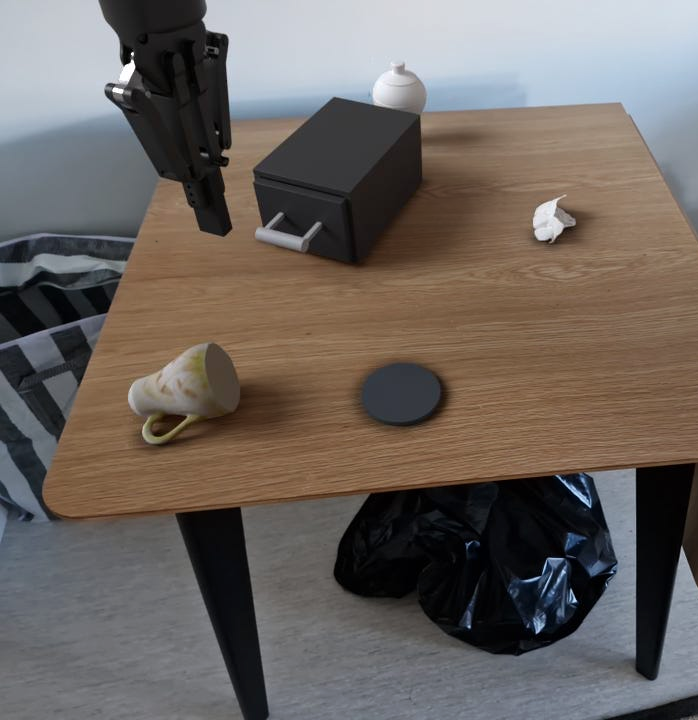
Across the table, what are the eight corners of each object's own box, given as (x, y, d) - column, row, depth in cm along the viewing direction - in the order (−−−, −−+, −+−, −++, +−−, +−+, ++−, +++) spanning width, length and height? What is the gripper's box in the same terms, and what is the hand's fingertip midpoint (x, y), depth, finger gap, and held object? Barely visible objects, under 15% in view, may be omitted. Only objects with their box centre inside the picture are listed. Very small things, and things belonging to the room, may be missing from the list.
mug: (134, 390, 73) (160, 310, 69) (229, 420, 76) (260, 346, 72) (109, 435, 67) (136, 350, 62) (214, 466, 70) (246, 388, 65)
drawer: (328, 287, 83) (318, 228, 77) (243, 264, 86) (227, 204, 80) (412, 184, 99) (409, 128, 93) (337, 166, 101) (330, 111, 95)
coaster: (421, 435, 70) (421, 431, 69) (347, 412, 72) (346, 408, 71) (452, 379, 75) (452, 375, 75) (382, 358, 77) (382, 354, 76)
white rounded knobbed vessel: (437, 138, 109) (436, 59, 101) (407, 160, 105) (403, 79, 96) (396, 124, 112) (392, 46, 103) (366, 144, 107) (358, 65, 99)
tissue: (518, 233, 93) (520, 208, 90) (548, 204, 98) (550, 179, 95) (556, 248, 91) (560, 223, 88) (585, 218, 96) (588, 193, 93)
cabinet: (358, 263, 88) (349, 192, 81) (268, 240, 91) (252, 168, 83) (423, 182, 101) (420, 114, 94) (342, 163, 104) (333, 96, 96)
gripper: (125, -1, 48) (209, 278, 65) (237, -55, 57) (285, 203, 73) (34, -18, 50) (139, 258, 66) (157, -68, 58) (222, 187, 75)
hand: (216, 229), depth 70 cm, fingers closed
